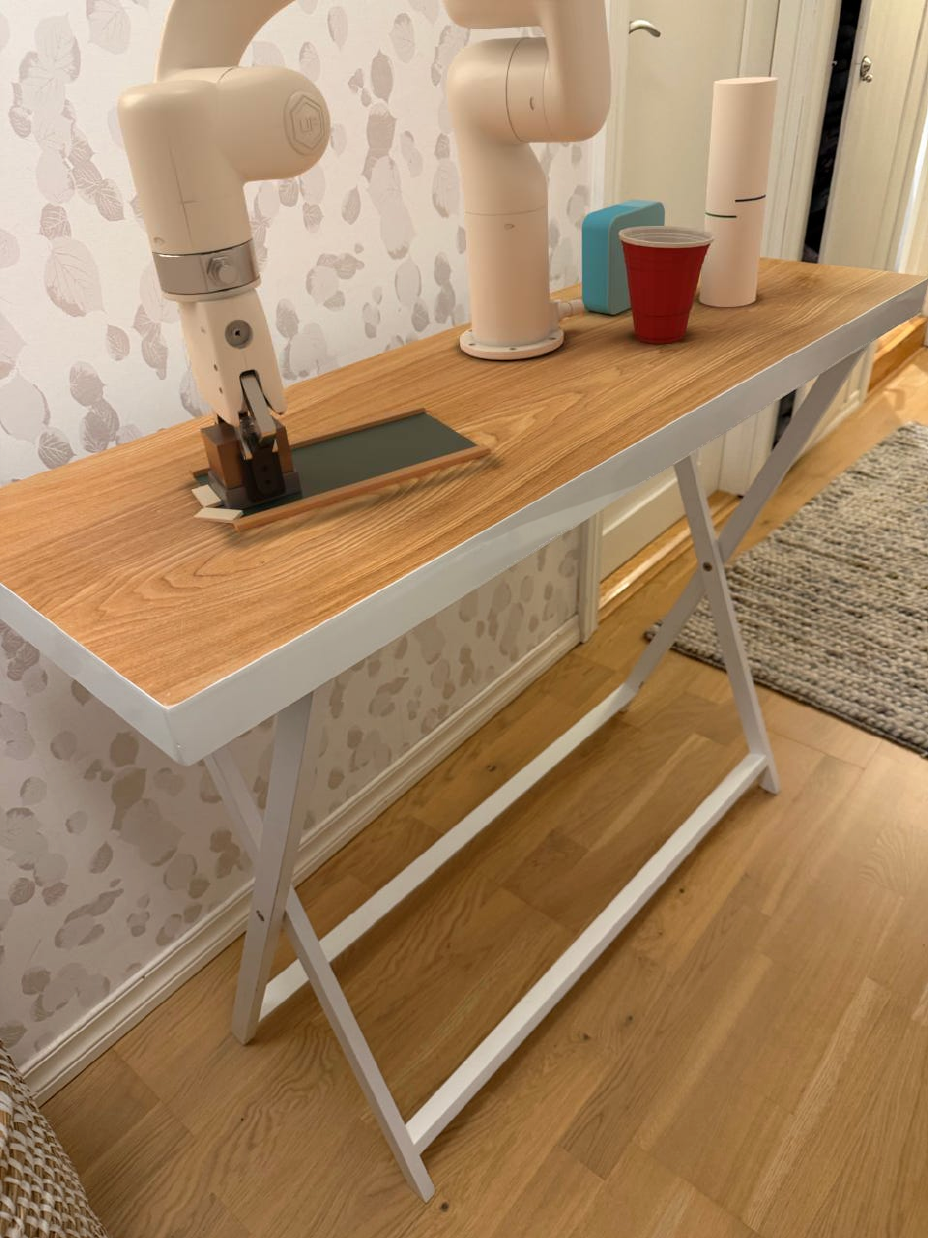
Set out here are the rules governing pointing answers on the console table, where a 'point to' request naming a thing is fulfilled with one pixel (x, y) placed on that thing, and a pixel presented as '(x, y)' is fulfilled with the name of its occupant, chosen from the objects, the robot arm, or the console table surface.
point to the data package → (611, 252)
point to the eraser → (228, 469)
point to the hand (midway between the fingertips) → (255, 483)
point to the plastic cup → (663, 278)
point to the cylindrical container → (737, 188)
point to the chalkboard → (360, 461)
